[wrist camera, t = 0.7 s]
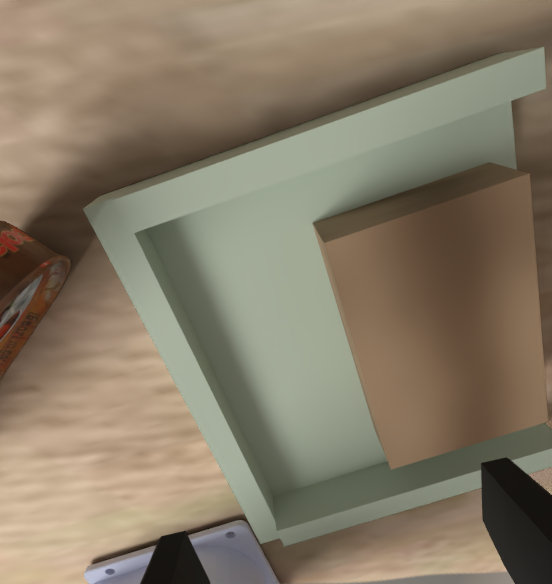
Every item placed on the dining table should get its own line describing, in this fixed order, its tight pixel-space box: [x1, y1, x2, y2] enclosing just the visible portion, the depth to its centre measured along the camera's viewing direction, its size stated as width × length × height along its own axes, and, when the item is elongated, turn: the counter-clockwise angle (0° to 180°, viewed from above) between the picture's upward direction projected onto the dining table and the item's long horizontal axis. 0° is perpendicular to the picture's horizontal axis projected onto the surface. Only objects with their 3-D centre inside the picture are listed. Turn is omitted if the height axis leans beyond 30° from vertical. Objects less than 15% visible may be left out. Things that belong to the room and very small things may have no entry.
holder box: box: [83, 47, 552, 547], centre depth 19 cm, size 15×18×2 cm
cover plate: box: [312, 162, 548, 469], centre depth 18 cm, size 7×11×2 cm, turn 18°
